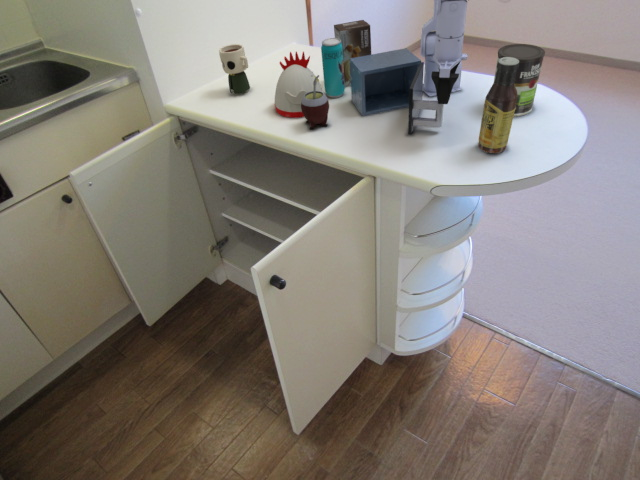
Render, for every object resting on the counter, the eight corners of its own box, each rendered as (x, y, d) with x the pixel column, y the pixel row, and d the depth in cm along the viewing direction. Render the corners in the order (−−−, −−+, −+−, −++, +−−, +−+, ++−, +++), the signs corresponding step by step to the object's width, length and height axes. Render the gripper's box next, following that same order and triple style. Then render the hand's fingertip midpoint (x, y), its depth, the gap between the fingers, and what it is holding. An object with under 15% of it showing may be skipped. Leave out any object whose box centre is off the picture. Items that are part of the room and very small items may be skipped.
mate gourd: (312, 116, 125) (306, 60, 115) (338, 121, 121) (334, 63, 111) (297, 129, 120) (289, 71, 110) (324, 134, 117) (318, 75, 107)
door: (447, 106, 121) (452, 62, 114) (440, 136, 110) (444, 89, 103) (418, 105, 123) (420, 61, 116) (407, 134, 112) (409, 88, 105)
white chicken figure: (323, 116, 124) (318, 59, 114) (273, 119, 125) (263, 64, 116) (325, 94, 135) (320, 40, 125) (278, 97, 136) (270, 44, 126)
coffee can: (541, 108, 116) (555, 51, 107) (510, 120, 113) (521, 62, 104) (510, 95, 123) (521, 40, 114) (480, 106, 120) (488, 50, 111)
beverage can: (343, 99, 131) (340, 44, 121) (323, 99, 132) (318, 45, 122) (346, 90, 135) (343, 37, 125) (327, 90, 136) (322, 37, 126)
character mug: (219, 93, 142) (209, 49, 134) (235, 84, 146) (226, 41, 138) (245, 99, 137) (235, 55, 128) (261, 90, 141) (253, 46, 132)
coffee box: (366, 74, 143) (364, 18, 132) (372, 81, 138) (371, 25, 127) (337, 79, 142) (333, 24, 131) (343, 87, 137) (339, 30, 126)
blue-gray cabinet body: (419, 104, 124) (421, 60, 116) (362, 116, 122) (360, 71, 114) (405, 90, 131) (406, 48, 124) (351, 101, 129) (349, 58, 122)
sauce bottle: (473, 142, 107) (485, 55, 94) (500, 139, 107) (516, 51, 94) (483, 157, 102) (497, 67, 89) (511, 153, 102) (530, 63, 89)
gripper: (467, 46, 91) (460, 111, 100) (471, 22, 101) (464, 83, 110) (431, 46, 93) (427, 109, 101) (438, 22, 103) (434, 82, 112)
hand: (444, 95), depth 106 cm, fingers open, 7 cm apart
